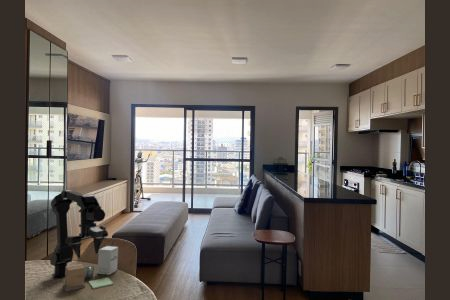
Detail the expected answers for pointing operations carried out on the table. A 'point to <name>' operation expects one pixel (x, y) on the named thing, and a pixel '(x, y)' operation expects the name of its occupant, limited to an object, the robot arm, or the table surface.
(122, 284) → the table surface
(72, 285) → the tan box
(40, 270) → the table surface
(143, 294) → the table surface
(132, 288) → the table surface
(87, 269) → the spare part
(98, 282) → the sage mat
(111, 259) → the supplement box
